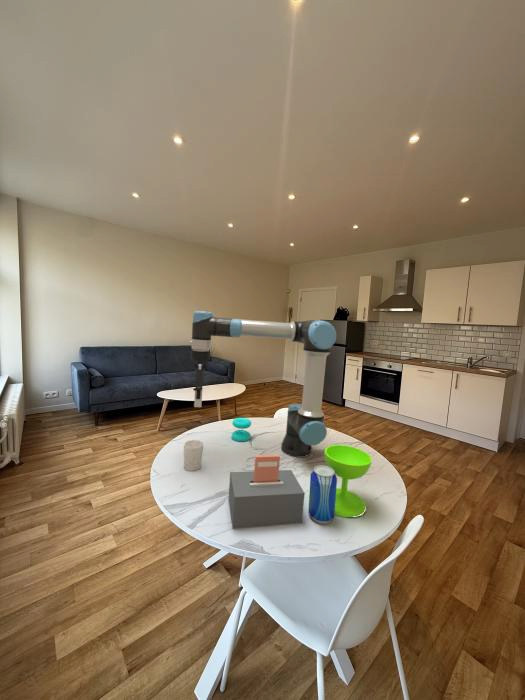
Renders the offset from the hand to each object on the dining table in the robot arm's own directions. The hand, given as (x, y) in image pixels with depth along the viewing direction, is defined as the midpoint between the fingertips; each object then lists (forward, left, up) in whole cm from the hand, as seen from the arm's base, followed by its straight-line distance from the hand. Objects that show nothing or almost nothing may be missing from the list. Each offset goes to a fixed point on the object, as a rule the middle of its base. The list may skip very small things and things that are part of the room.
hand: (198, 401), depth 115 cm
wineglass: (-53, +28, -28) cm, 66 cm away
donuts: (-23, -28, -28) cm, 46 cm away
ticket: (-23, +30, -21) cm, 43 cm away
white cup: (+1, 0, -28) cm, 28 cm away
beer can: (-42, +34, -28) cm, 61 cm away
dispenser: (-23, +30, -28) cm, 47 cm away
